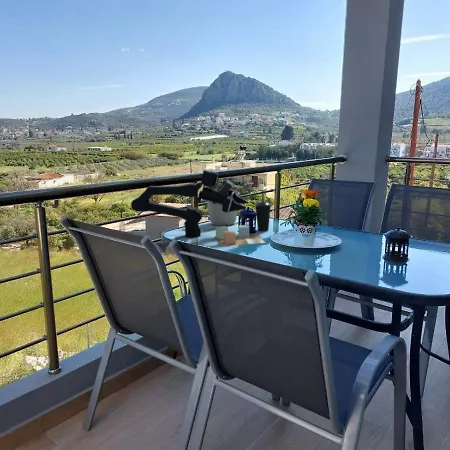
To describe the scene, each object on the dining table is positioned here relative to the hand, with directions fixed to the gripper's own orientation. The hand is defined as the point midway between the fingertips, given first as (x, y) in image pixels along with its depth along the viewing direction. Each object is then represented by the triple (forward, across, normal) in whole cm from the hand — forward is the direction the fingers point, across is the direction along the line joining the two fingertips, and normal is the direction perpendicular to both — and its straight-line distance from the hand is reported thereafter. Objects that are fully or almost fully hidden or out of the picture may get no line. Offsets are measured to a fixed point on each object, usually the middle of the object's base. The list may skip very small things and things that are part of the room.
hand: (246, 205), depth 182 cm
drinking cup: (+12, +8, +13) cm, 20 cm away
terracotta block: (-3, -14, +14) cm, 20 cm away
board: (+1, -9, +14) cm, 17 cm away
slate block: (+3, -3, +13) cm, 14 cm away
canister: (-8, +28, +22) cm, 36 cm away
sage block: (-7, -5, +16) cm, 18 cm away
